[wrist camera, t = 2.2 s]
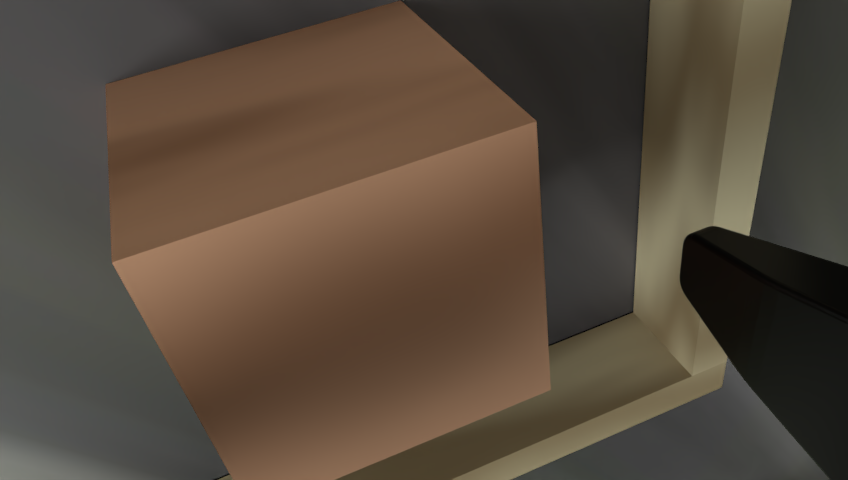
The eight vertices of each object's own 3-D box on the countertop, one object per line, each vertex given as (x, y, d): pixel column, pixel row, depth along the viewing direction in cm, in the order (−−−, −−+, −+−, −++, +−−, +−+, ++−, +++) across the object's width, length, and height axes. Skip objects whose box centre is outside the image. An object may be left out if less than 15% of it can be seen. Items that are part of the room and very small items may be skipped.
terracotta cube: (437, 226, 15) (550, 389, 12) (210, 306, 14) (252, 513, 11) (399, -2, 12) (536, 121, 8) (106, 82, 11) (112, 262, 7)
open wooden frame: (662, 325, 20) (721, 386, 18) (89, 559, 17) (88, 664, 15) (743, -554, 10) (904, -624, 8) (-726, -351, 6) (-1067, -383, 5)
